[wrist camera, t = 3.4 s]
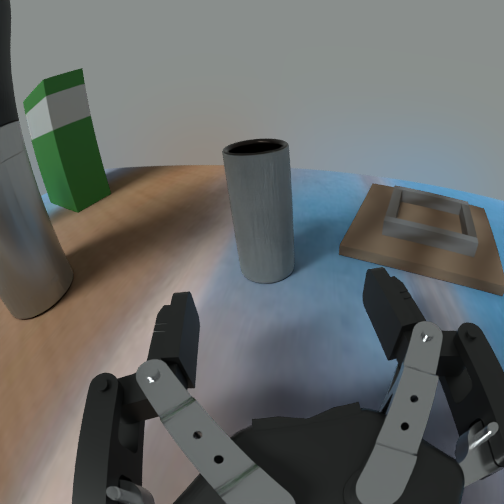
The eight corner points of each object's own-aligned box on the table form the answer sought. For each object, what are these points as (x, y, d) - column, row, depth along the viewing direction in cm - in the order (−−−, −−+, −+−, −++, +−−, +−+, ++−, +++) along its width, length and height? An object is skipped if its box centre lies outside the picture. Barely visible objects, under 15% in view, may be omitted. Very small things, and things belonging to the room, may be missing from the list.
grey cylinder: (261, 246, 27) (249, 137, 21) (304, 260, 25) (300, 140, 19) (230, 272, 24) (208, 152, 19) (274, 291, 22) (262, 157, 16)
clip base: (338, 254, 25) (340, 230, 23) (372, 190, 36) (373, 172, 34) (502, 295, 17) (512, 272, 16) (482, 215, 28) (486, 197, 26)
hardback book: (50, 202, 51) (23, 102, 38) (77, 187, 56) (52, 90, 43) (78, 212, 42) (43, 79, 29) (111, 193, 47) (82, 68, 34)
